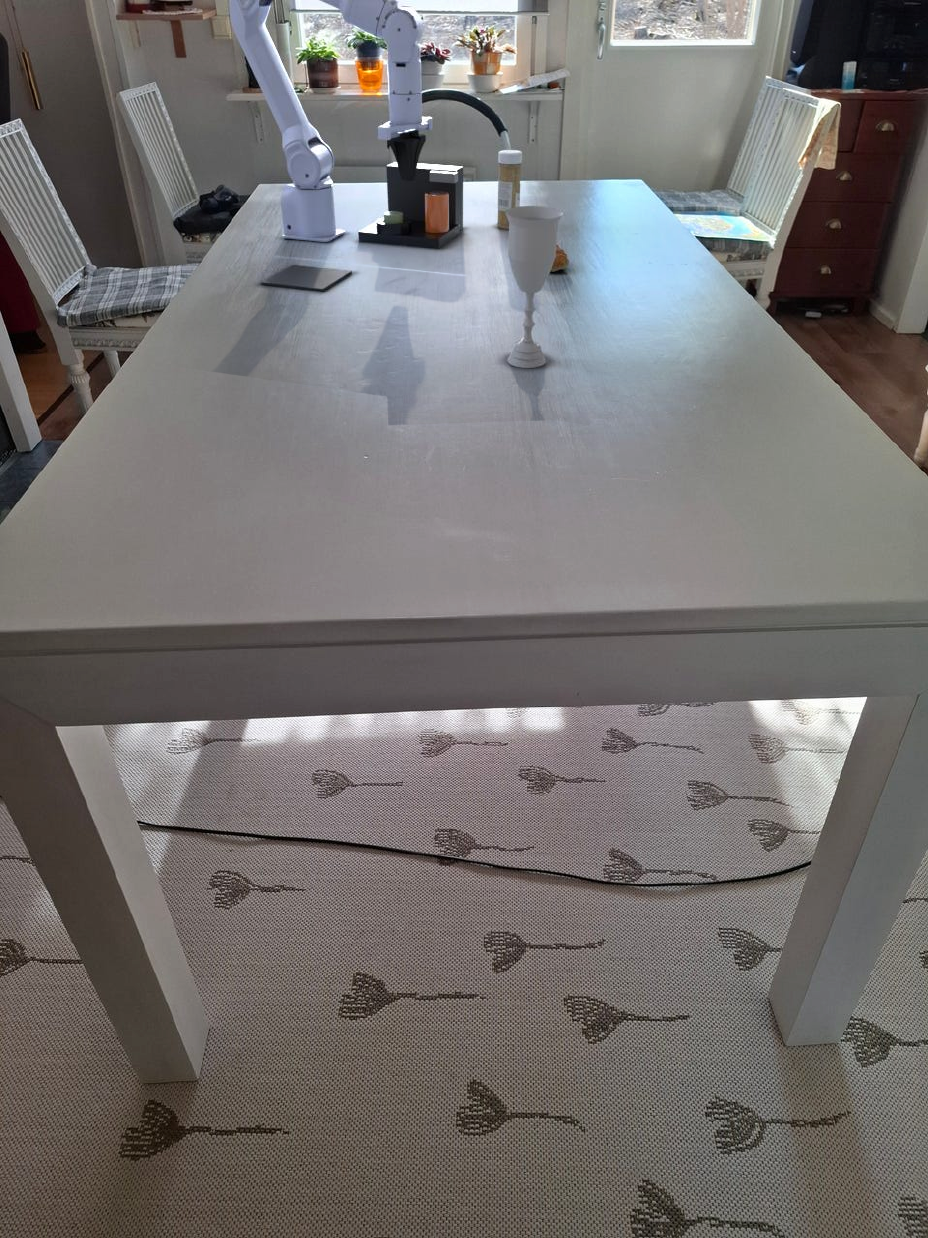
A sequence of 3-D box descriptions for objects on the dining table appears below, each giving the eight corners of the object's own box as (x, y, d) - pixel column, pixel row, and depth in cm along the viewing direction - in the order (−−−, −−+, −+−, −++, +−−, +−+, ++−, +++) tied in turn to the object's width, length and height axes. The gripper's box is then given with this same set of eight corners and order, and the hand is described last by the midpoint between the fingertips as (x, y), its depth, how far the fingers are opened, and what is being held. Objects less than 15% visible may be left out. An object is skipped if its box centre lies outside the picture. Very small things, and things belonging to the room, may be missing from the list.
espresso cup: (422, 231, 162) (421, 193, 158) (430, 226, 165) (429, 189, 161) (444, 233, 161) (443, 195, 157) (452, 228, 164) (451, 191, 160)
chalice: (497, 351, 117) (501, 206, 106) (547, 350, 117) (556, 205, 106) (504, 371, 111) (509, 220, 100) (556, 370, 111) (567, 219, 100)
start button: (381, 224, 161) (380, 214, 160) (388, 220, 163) (388, 210, 162) (399, 226, 160) (398, 215, 159) (406, 221, 162) (405, 211, 161)
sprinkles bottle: (523, 227, 172) (527, 151, 164) (505, 230, 170) (507, 153, 162) (510, 223, 175) (513, 148, 167) (491, 225, 173) (493, 150, 165)
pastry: (578, 270, 148) (580, 246, 146) (546, 276, 145) (547, 252, 143) (546, 257, 154) (547, 234, 152) (514, 263, 152) (515, 240, 149)
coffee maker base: (358, 242, 162) (356, 222, 160) (383, 227, 172) (382, 208, 170) (438, 249, 158) (438, 229, 156) (460, 234, 168) (460, 214, 166)
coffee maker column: (385, 229, 170) (382, 167, 164) (397, 222, 175) (395, 161, 169) (454, 236, 167) (454, 172, 160) (465, 228, 172) (465, 166, 165)
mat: (261, 284, 140) (261, 282, 140) (293, 267, 149) (293, 264, 149) (323, 291, 138) (322, 288, 137) (351, 273, 146) (351, 270, 146)
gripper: (401, 98, 143) (404, 188, 151) (446, 89, 153) (447, 175, 161) (366, 95, 145) (370, 184, 154) (413, 87, 155) (415, 171, 164)
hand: (407, 179), depth 157 cm, fingers closed
